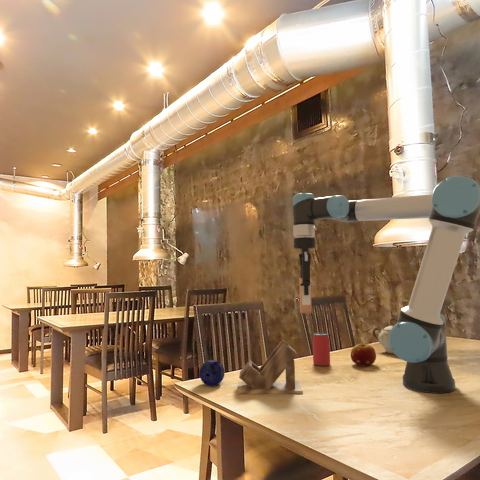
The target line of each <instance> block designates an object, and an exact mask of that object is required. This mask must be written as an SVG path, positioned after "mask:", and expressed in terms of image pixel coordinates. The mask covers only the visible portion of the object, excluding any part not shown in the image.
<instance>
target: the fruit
mask: <svg viewBox="0 0 480 480" xmlns="http://www.w3.org/2000/svg"><path fill="white" fill-rule="evenodd" d="M350 358H351V361H352V362H353V363H354V364H356V365H358V366H361V367H369V366H372V365H374V363H375V362H376V360H377V359H376V358H377V353H376V350H375V348H374V347H373V346H372V345H370V344H368V343H358V344H355V345H354V346H353V347H352V348H351V351H350Z"/></svg>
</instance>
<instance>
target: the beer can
mask: <svg viewBox="0 0 480 480" xmlns="http://www.w3.org/2000/svg"><path fill="white" fill-rule="evenodd" d="M330 348H331V347H330V337H329V334H328V333H325V332H315V333H313V337H312V359H313V360H312V363H313V365H315V366H317V367H328V366H330V365H331V349H330Z"/></svg>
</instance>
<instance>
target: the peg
mask: <svg viewBox="0 0 480 480" xmlns="http://www.w3.org/2000/svg"><path fill="white" fill-rule="evenodd" d="M310 281H311V283H310V305H302V286H300V284H302V278H301V277H300V278H299V313H300V314H312V311H313V310H312V278H311V277H310Z"/></svg>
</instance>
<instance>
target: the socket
mask: <svg viewBox="0 0 480 480" xmlns="http://www.w3.org/2000/svg"><path fill="white" fill-rule="evenodd" d="M297 355H298V353H297V350H295V349H294V348H293V347H292V346H291V345H290V344H288V343H287V342H286V341H285V340H284V339H281V341H280V342H279V343H278V344H277V346H276V347H274V349H273V351H272V352H271V353H270V354H269V356H268V357H267V358H266V360H265V361H264V362H263V364H262V365H261V366H260V367H259V366H258V365H257V364H255V363H254V362H253V361H252V360H251V359H249V360H248V361H247V362H246V363H245V365H244V366H243V367H242V369H241V370H240V371H239V376H238V377H239V379H240V380H241V381H238V382H237V383H238V384H237V390H236V394H237V395H275V394H276V395H281V394H282V395H285V394H286V395H293V394H295V395H297V394H298V395H299V394H300V395H303V394H304V390H303V387H302V385H301V383H300V381H299V380H296V371H295V366H296V365H295V357H297ZM283 372H285V381H284V380H282V381H281V380H278V378H279V377H280V376H281V375H282V374H283ZM277 380H278V381H277Z"/></svg>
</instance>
